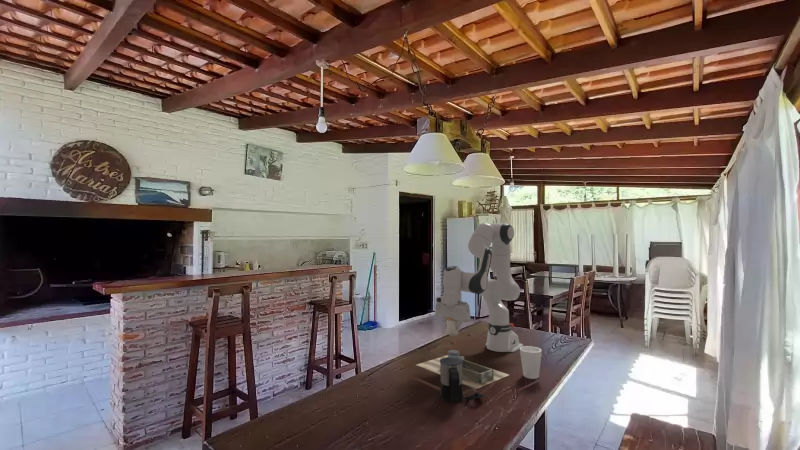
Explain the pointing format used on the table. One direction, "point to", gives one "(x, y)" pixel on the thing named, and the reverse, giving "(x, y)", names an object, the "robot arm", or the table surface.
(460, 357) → the pusher
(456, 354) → the jar
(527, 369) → the foam cup
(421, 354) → the table surface
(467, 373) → the cream rippled cloth
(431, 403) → the table surface
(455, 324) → the jar
